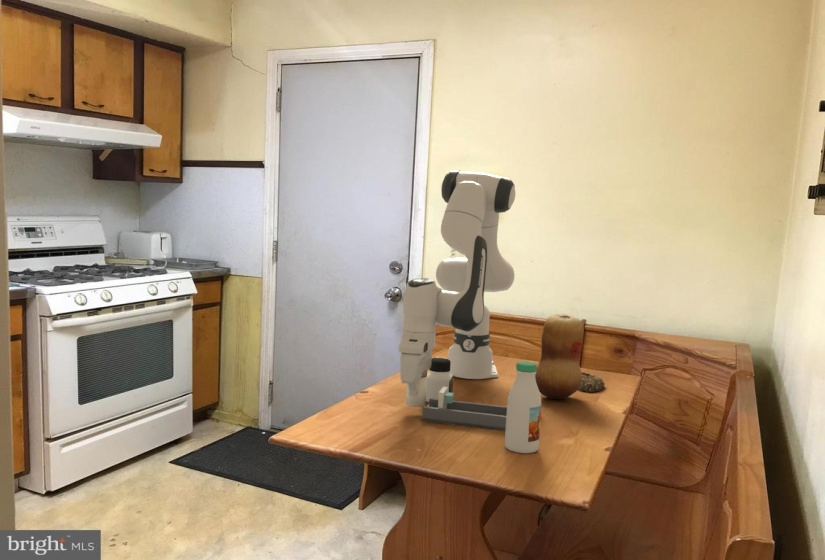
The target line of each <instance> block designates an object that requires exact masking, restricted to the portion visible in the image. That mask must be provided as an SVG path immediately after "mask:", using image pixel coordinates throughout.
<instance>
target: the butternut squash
mask: <svg viewBox="0 0 825 560" xmlns="http://www.w3.org/2000/svg"><path fill="white" fill-rule="evenodd" d="M543 324H544V325H543V329H542V334H541V344H540V346H541V347H540V348H541V351H540V352H541V355H540V360H539V362H538V364H537V370H536V374H535V379H536V384H537V386H538V389H539V392H540V395H542V396H544V397H546V398H548V399H555V400H565V399H566V398H568V397H570V396H572V395H573V394H575V393H576V392H578V389H579V387H580V385H581V379H582V373H581V372H582V370H581V366H580V362H579V361H580V356H581V353H582V350H583V345H584V343H583V342H584V333H585V330H584V322H582V321H581V320H580V319H579V318H577V317H575V316H572V315H569V314H566V313H563V314H562V313H561V314H560V313H555V314H551V315H549V317H547V319H546V320H545V322H544V323H543Z"/></svg>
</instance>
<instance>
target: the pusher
mask: <svg viewBox="0 0 825 560" xmlns="http://www.w3.org/2000/svg"><path fill="white" fill-rule="evenodd" d="M454 398H455V392H452V393H449V392H448V387H443V388H442V389H441V390H440V392H439V396H438V408H443V409H447V403H450V404H452V402H453V401H455V399H454Z"/></svg>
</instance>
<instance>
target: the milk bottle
mask: <svg viewBox="0 0 825 560" xmlns="http://www.w3.org/2000/svg"><path fill="white" fill-rule="evenodd" d="M537 366H538V364H537V363H535V362H533V361H527V360H526V361H524V360H523V361H517V362H516V365H515V372H516V376H515V380H514V382H513V384H512V386H511V388H510V390H509V392H508V397H507V404H506V407H507V415H506V431H504V433H505V435H504V446H505V448H506V449H507V450H509V451H511V452H514V453H517V454H518V453H519V454H533V453H535V452H537V451H538V449H539V447H540V445H539V444H540V432H541V431H540V430H541V415H542V413H541V412H542V398H541V397H542V396H541V393H540V392H539V389H538V386H537V384H536V379H535V374H536V370H537Z"/></svg>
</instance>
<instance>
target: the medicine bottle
mask: <svg viewBox="0 0 825 560" xmlns="http://www.w3.org/2000/svg"><path fill="white" fill-rule="evenodd" d="M450 365H451V361H450V360H449V359H448V357H447V358H446V357H437V356H436V357H433V358H432V363H431V368H430V369H429V370H428V372H427V382H426V402H427V403H429V399H430V398H435V399H438V396H439V392H440V390H441V389H442V388H443V387H448V392H449V393H453V390H454V389H453V387H454V376H453V374H450Z"/></svg>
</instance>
